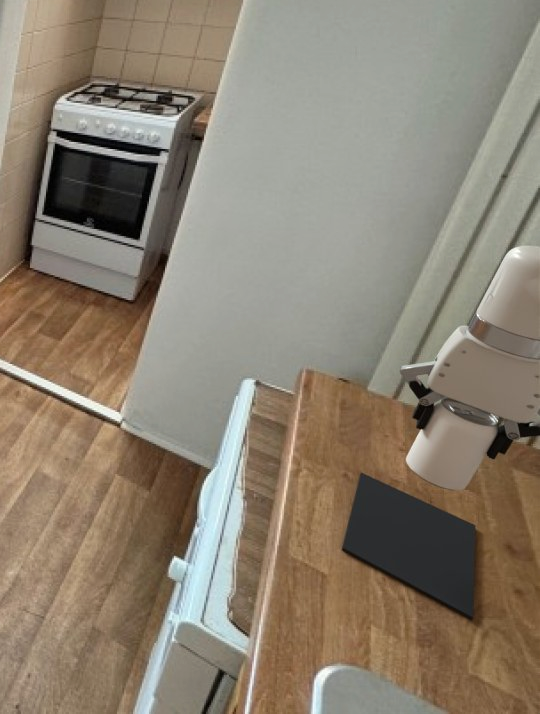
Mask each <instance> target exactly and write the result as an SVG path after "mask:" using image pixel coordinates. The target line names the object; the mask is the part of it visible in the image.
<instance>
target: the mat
mask: <svg viewBox="0 0 540 714" xmlns="http://www.w3.org/2000/svg"><path fill="white" fill-rule="evenodd" d="M341 551H343V552H344V553H346V554H348V555H350V556H352V557H354V558H357V559H358V560H359V561H362V562H363V563H365V564H367V565H369V566H370V567H372V568H374V569H376V570H378V571H379V572H382V573H383V574H384V575H388V576H389V577H390V578H393V579H395V580H396V581H398V582H400V583H402V584H404V585H406V586H408V587H410V588H411V589H413V590H415V591H417V592H419V593H421V594H422V595H424V596H426V597H428V598H430V599H432V600H434V601H435V602H438V603H439V604H441V605H443V606H445V607H446V608H449V609H450V610H452V611H454V612H456V613H458V614H460V615H461V616H463V617H466V618H467V619H469V620H471V621H472V620H474V611H475V609H474V608H475V567H476V565H475V564H476V562H475V561H476V524H474V523H472V522H470V521H467V520H465V519H463V518H461V517H458V516H456V515H454V514H452V513H450V512H448V511H446V510H443V509H441V508H439V507H437V506H435V505H433V504H432V503H431V504H430V503H429V502H427V501H424V500H422V499H419V498H417V497H415V496H413V495H411V494H409V493H407V492H404V491H403V490H401V489H399V488H396V487H393V486H392V485H389V484H388V483H386V482H383V481H381V480H378V479H377V478H374V477H372V476H370V475H368V474H365V473H363V472H360V474H359V478H358V481H357V486H356V490H355V494H354V498H353V502H352V505H351V510H350V513H349V518H348V522H347V526H346V531H345V534H344V538H343V542H342V547H341Z"/></svg>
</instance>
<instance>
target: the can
mask: <svg viewBox="0 0 540 714" xmlns="http://www.w3.org/2000/svg"><path fill="white" fill-rule="evenodd" d="M499 423H500V422H499V419H498V418H497V416H496V415H493V414H491V413H488V412H485V411H483V410H480V409H477V408H475V407H472V406H469V405H466V404H464V403H461V402H459V401H456V400H453V399H451V398H448V397H445V398H443V399H441V400H440V401H438V402H436V404H434V408H433V412H432V414H431V416H430V418H429V419H428V421H427V423H426V425H425V427H424V429H423V430H422V429H421V430H420V429H419V432H418V434H417V436H416V437H415V439H414V441H413V443H412V445H411V447H410V448H409V450H408V453H407V454H406V457H405V462H406V464H407V466H408V468H409V469H410V471H411V472H413V473H414V475H416V476H417V477H419V478H420V479H421V480H423V481H425V482H427V483H428V484H430V485H432V486H435V487H438V488H440V489H444V490H448V491H463V490H465V489H466V488H467V486H468V485H469V483H470V482H471V480H472V479H473V477H474V475H475V474H476V472H477V471H478V468H479V467H480V465H481V464H482V462H483V460H484V459H485V456H487V452H488V450H489V448H490V446H491V445H492V443H493V441H494V439H495V438H496V436H497V433H498V430H497V427H498V426H499Z"/></svg>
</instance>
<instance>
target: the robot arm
mask: <svg viewBox="0 0 540 714" xmlns="http://www.w3.org/2000/svg"><path fill="white" fill-rule="evenodd" d="M502 259H503V260H501V263H500V264H499V267H498V269H497V271H496V272H495V275H494V277H493V278H492V281H491V282H490V284H489V286H488V288H487V290H486V292H485V294H484V296H483V298H482V300H481V301H480V303H479V305H478V307H477V309H476V311H475V312H474V315H473V317H472V319H471V320H470V322H469V325H463V324H462V325H459V326H458V327H457V328H456V329H455V330H454V331H453V332H452V333H451V335H450V336H449V337H448V338H447V340H446V341H445V342H444V343H443V345H442V347H441V348H440V350H439V351H438V352H437V354H436V356H435V357H434V359H433V360H431V361H425V362H418V363H411V364H405V365H401V366H400V367H399V374H400V375H401V377H402V378H403V379H404V381H405V382H406V383H407V384H408V387H409V389H410V390H411V392H412V393H413V394H414V395H415V397H416V398H417V399H418V403H417V405H416V407H415V409H414V410H413V412H412V415H411V419H413V420H416V425H415V429H418V430H419V431H420V430H421V429H422V430H423V429H424V427H425V425H426V423H427V421H428V419H429V418H430V416H431V414H432V412H433V408H434V405H435V403H438V402H440V401H441V400H442V399H443V398H445V397H448V398H451V399H453V400H456V401H459V402H461V403H464V404H466V405H469V406H472V407H475V408H477V409H480V410H483V411H485V412H488V413H491V414H493V415H494V416H495V417H499V418H502V421H503V424H501V425H497V430H498V433H497V436H496V438H495V439H494V441H493V443H492V445H491V446H490V448H489V450H488V452H487V453H486V456H487V457H488V459H491V460H496V458H497V456H498V455H499V454H502V455H503V456H504V455H506V454H507V452H508V450H509V448H510V447H511V446H512V444H513V443H514V441H519V440H520V439H521V438H531V437H540V420H539V421H533V420H534V419H535V418H536V416H537V414H538V416H540V246H538V245H537V246H536V245H520V246H516V247H513V248H511V249H510V250H508V251H507V252H506V254H505V256H504V257H503V258H502ZM423 375H427V376H428V379H427V383H426V384H427V386H425V384H424V383H423V382H422V380H421V379H419V378H418V376H423Z"/></svg>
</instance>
